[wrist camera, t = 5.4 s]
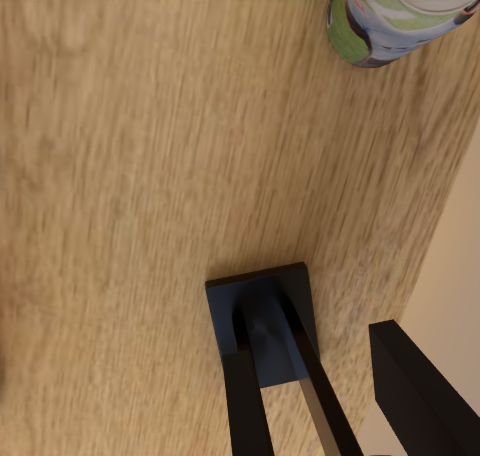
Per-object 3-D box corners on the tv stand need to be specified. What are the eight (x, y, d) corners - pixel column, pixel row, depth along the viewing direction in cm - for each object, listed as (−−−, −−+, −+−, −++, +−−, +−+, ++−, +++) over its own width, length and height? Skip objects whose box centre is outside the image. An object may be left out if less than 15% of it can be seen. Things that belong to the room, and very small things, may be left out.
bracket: (204, 281, 34) (219, 581, 13) (303, 261, 34) (472, 523, 13) (227, 385, 37) (269, 761, 16) (318, 366, 37) (473, 710, 16)
